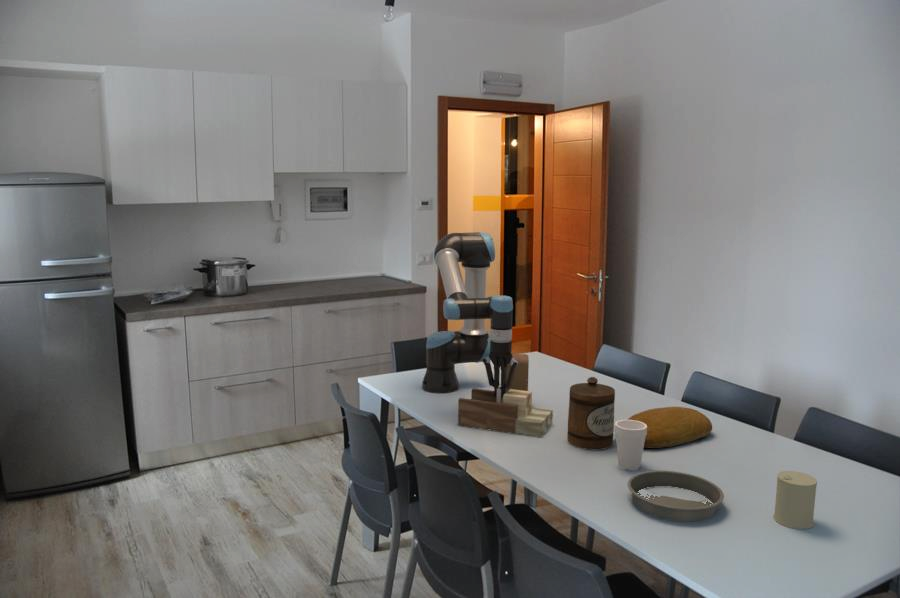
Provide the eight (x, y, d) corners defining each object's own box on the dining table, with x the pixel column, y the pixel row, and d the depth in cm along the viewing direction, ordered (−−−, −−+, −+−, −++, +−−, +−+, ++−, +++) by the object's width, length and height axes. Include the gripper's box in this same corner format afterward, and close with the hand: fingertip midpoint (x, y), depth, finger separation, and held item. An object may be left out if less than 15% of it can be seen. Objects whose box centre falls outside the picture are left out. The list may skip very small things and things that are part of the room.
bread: (722, 437, 242) (724, 409, 240) (644, 455, 226) (645, 425, 224) (681, 421, 258) (683, 395, 256) (605, 437, 242) (607, 408, 240)
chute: (473, 413, 266) (473, 388, 264) (552, 423, 254) (552, 397, 253) (458, 425, 252) (458, 399, 250) (541, 437, 241) (541, 410, 239)
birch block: (509, 408, 256) (510, 389, 255) (531, 410, 253) (532, 391, 252) (502, 414, 248) (503, 395, 247) (525, 417, 245) (525, 397, 244)
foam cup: (627, 474, 211) (629, 431, 208) (606, 463, 219) (608, 422, 217) (651, 468, 215) (653, 427, 213) (630, 458, 223) (632, 418, 221)
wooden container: (597, 453, 227) (600, 386, 223) (558, 442, 237) (560, 377, 233) (621, 441, 237) (624, 377, 234) (582, 430, 247) (585, 369, 244)
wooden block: (527, 404, 277) (528, 353, 274) (527, 412, 267) (528, 360, 264) (501, 403, 278) (502, 352, 275) (500, 411, 268) (501, 359, 265)
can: (766, 513, 186) (770, 469, 184) (800, 512, 187) (804, 468, 185) (785, 530, 177) (789, 484, 175) (821, 528, 178) (825, 483, 176)
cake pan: (743, 518, 184) (744, 501, 183) (659, 530, 177) (660, 513, 176) (686, 480, 207) (687, 465, 206) (610, 490, 200) (610, 474, 199)
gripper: (479, 340, 248) (478, 406, 252) (515, 344, 243) (513, 411, 247) (487, 336, 255) (485, 400, 259) (522, 340, 250) (520, 405, 254)
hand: (499, 405), depth 253 cm, fingers closed
